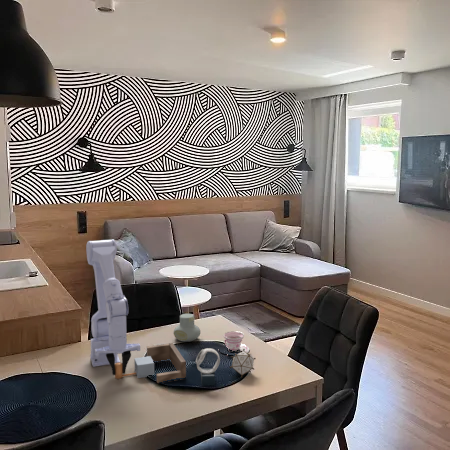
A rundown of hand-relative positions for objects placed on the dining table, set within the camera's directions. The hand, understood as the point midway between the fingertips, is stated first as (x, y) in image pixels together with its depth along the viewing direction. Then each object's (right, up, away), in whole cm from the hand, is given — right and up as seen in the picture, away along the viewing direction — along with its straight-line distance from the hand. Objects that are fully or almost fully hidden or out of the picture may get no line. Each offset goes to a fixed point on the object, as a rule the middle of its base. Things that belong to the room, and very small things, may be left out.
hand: (118, 373), depth 157 cm
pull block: (+5, -1, +2) cm, 5 cm away
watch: (+30, -2, -2) cm, 30 cm away
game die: (+42, -1, +3) cm, 42 cm away
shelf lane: (+15, -1, +6) cm, 16 cm away
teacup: (+39, +1, +24) cm, 46 cm away
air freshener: (+20, +3, +34) cm, 40 cm away
